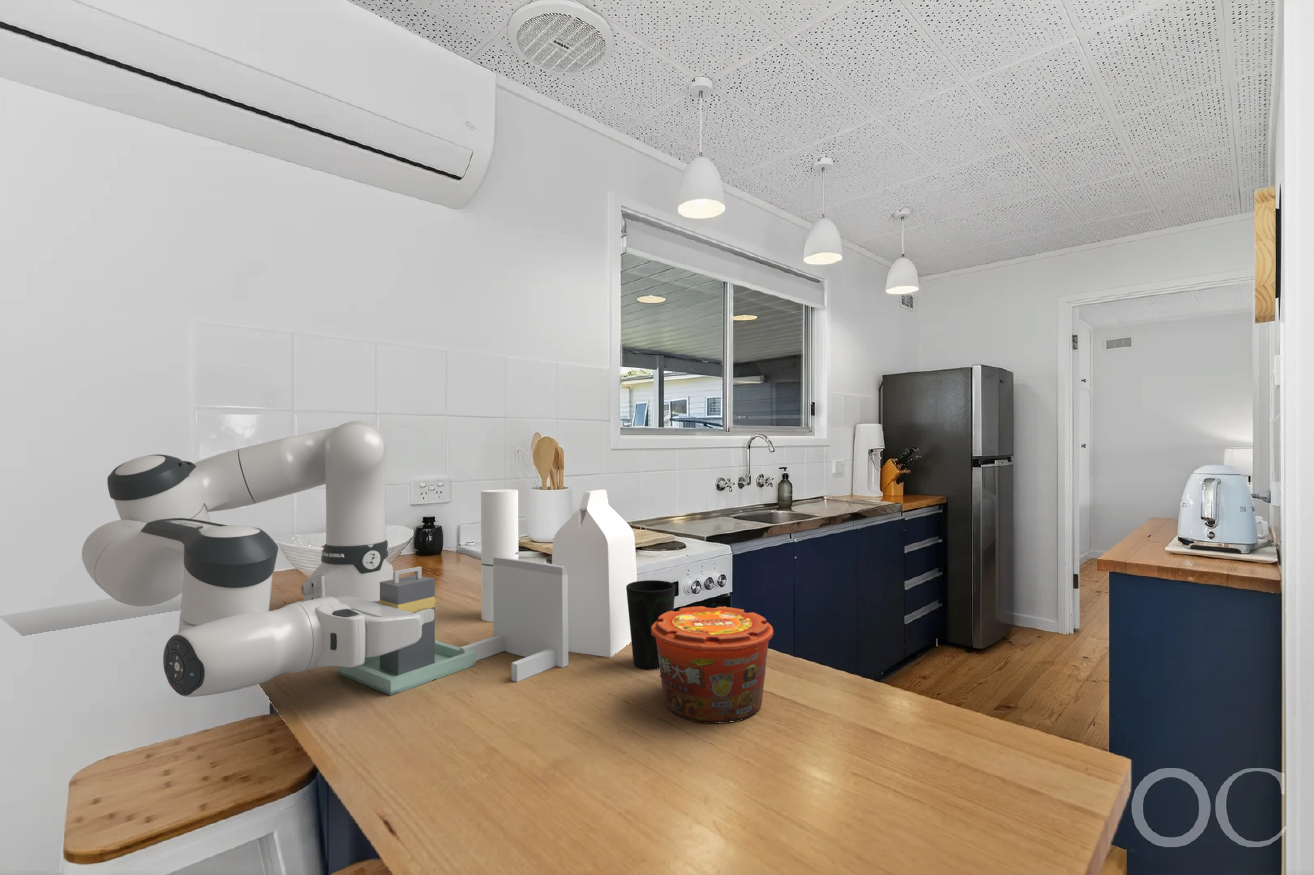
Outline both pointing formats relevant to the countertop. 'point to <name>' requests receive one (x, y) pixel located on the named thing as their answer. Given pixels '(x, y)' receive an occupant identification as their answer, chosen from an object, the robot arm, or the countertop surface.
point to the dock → (528, 616)
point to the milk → (597, 575)
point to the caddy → (411, 598)
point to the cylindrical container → (496, 538)
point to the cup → (647, 617)
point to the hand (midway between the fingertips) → (413, 608)
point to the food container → (712, 662)
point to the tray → (386, 682)
